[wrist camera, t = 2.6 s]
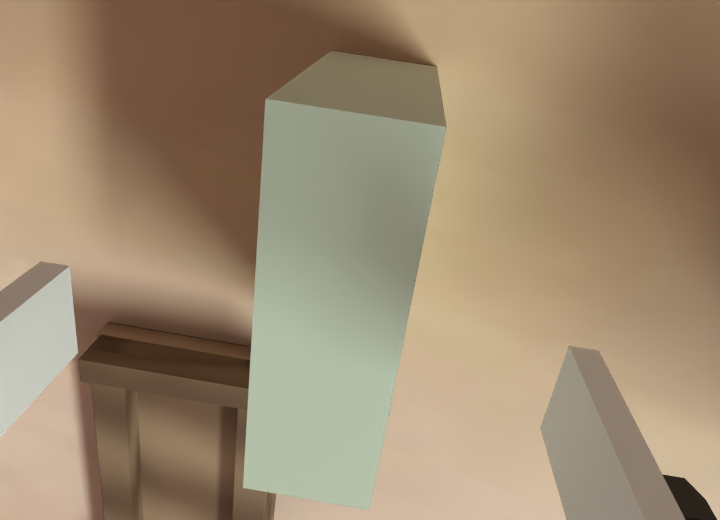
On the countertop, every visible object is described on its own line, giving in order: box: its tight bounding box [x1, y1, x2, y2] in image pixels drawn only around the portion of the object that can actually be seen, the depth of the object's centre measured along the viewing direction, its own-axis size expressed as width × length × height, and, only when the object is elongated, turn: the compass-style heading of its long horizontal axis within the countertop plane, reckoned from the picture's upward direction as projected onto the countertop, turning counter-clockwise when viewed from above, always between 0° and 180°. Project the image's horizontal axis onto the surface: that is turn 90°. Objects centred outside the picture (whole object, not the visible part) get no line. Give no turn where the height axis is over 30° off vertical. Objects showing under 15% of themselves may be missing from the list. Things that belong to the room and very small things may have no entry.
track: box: [78, 323, 276, 520], centre depth 30 cm, size 18×9×3 cm, turn 172°
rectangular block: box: [243, 51, 446, 510], centre depth 20 cm, size 12×4×10 cm, turn 172°
